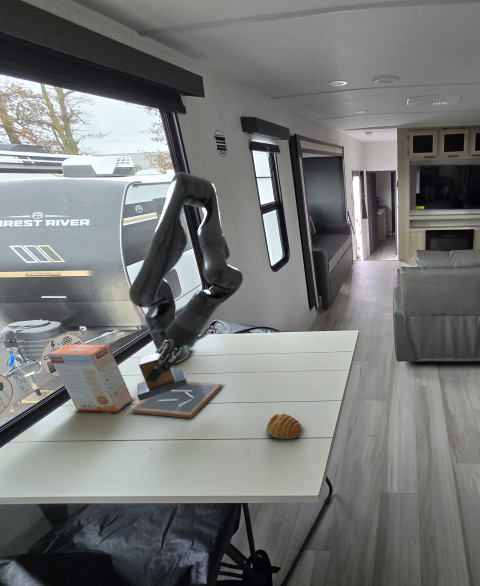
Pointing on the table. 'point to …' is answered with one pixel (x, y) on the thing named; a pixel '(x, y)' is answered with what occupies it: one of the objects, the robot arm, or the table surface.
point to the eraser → (164, 381)
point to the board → (179, 400)
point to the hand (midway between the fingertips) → (150, 376)
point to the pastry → (283, 427)
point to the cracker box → (91, 377)
